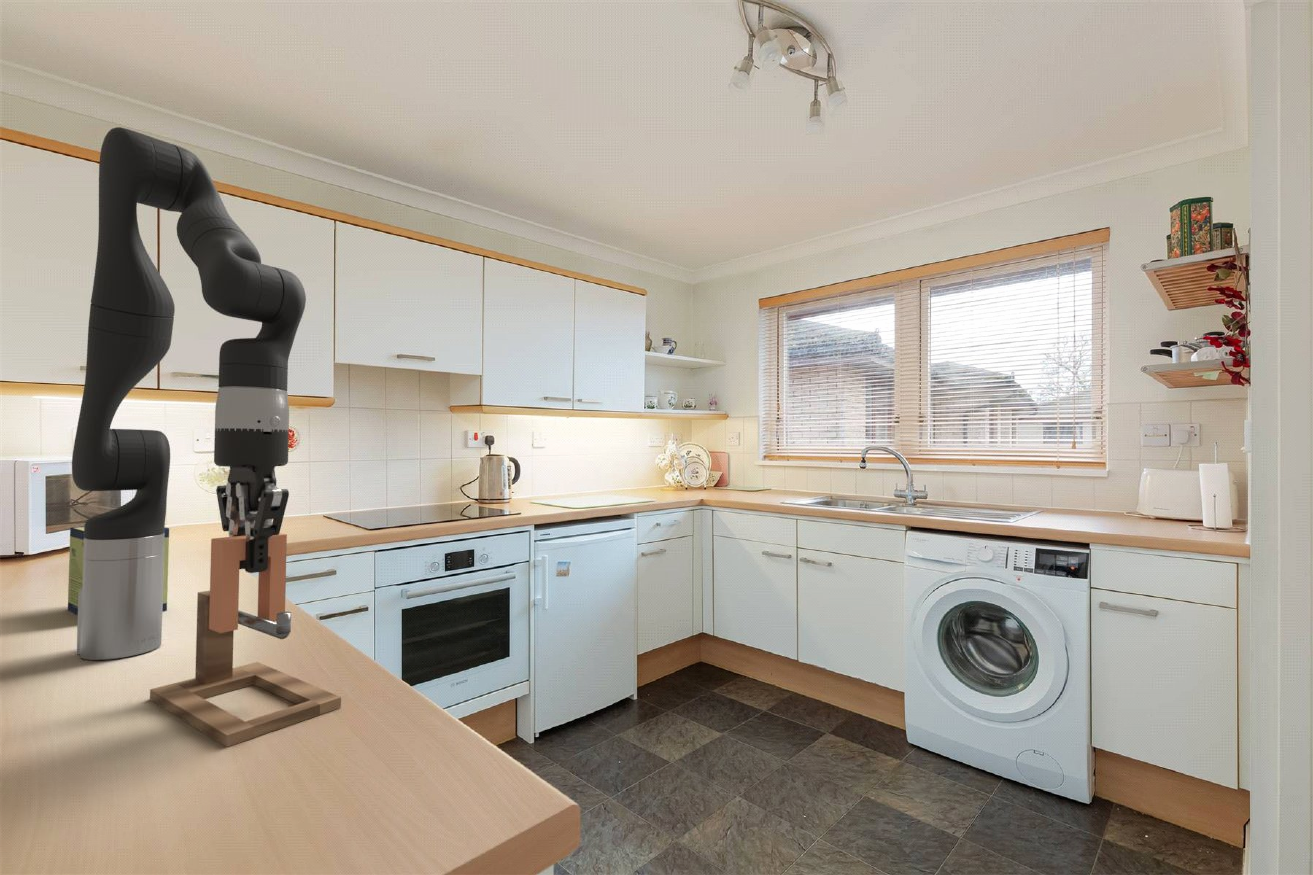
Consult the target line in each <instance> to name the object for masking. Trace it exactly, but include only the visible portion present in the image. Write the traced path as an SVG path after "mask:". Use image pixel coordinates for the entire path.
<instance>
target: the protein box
mask: <svg viewBox="0 0 1313 875" xmlns="http://www.w3.org/2000/svg"><path fill="white" fill-rule="evenodd" d="M84 526H85V525H84ZM84 526H74V527H73V526H72V527H70V530H69V556H68V558H69V561H68V585H67V586H68V588H67V589H68V590H67V591H68V592H67V611H70V612H72V613H73V614H76V615H78V592H79V590H80V589H81V588H83V559H84V558H83V555H84V538H85V537H84ZM164 533H165V536H164V575H163V611H162V612H167V611H168V591H169V590H168V588H169V587H168V586H169V585H168V580H169V555H170V554H169V553H170V552H169V551H170V550H169V549H170V528H169V527H166V526H165V532H164Z"/></svg>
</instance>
